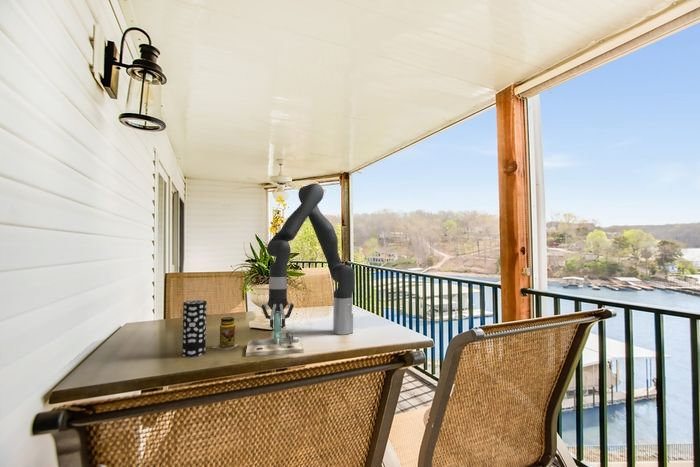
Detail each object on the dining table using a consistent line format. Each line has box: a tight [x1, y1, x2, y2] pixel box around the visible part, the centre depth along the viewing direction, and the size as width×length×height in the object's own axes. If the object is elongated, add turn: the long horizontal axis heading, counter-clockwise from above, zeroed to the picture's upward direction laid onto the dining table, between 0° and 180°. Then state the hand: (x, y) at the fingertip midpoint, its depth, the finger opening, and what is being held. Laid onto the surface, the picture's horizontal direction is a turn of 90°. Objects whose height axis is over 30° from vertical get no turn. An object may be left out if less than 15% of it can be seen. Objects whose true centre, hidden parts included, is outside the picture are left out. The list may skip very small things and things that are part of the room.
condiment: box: [211, 316, 239, 351], centre depth 142 cm, size 7×8×12 cm
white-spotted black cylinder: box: [181, 299, 208, 358], centre depth 133 cm, size 8×8×20 cm
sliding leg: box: [273, 311, 282, 345], centre depth 140 cm, size 3×9×12 cm, turn 14°
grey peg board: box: [245, 329, 305, 357], centre depth 139 cm, size 22×14×6 cm, turn 104°
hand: (277, 328), depth 143 cm, fingers open, 3 cm apart
